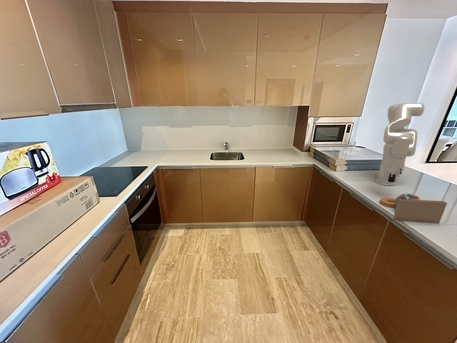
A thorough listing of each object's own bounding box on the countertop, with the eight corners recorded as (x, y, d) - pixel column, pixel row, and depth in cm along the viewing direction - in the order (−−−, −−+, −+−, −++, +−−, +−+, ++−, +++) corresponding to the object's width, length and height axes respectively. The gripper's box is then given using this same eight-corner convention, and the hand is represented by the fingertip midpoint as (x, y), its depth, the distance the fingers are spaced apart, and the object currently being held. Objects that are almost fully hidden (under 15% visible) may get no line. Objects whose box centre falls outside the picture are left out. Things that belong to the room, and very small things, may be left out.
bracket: (412, 204, 119) (416, 194, 116) (419, 211, 112) (423, 201, 109) (377, 200, 125) (380, 191, 123) (382, 207, 118) (384, 197, 116)
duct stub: (383, 208, 116) (388, 190, 112) (422, 210, 112) (429, 192, 108) (395, 220, 105) (401, 200, 101) (439, 223, 101) (447, 203, 97)
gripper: (385, 151, 127) (378, 176, 134) (398, 159, 113) (390, 187, 121) (398, 151, 125) (391, 176, 132) (413, 159, 112) (404, 187, 119)
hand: (390, 181), depth 127 cm, fingers closed
